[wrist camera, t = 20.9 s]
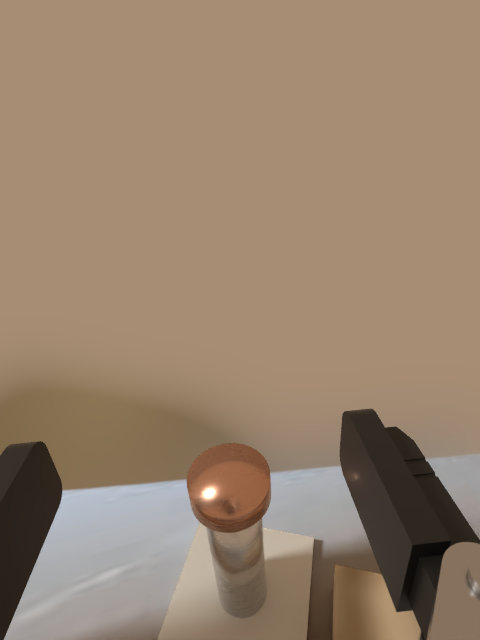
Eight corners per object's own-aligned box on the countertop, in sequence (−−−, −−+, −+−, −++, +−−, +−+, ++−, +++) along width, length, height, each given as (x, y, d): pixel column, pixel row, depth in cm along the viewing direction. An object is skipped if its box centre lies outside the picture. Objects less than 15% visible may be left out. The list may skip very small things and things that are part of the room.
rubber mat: (154, 656, 30) (152, 651, 29) (202, 520, 40) (202, 515, 40) (302, 701, 27) (302, 697, 26) (313, 542, 37) (313, 537, 37)
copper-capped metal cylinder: (200, 619, 31) (173, 504, 24) (220, 549, 36) (203, 438, 29) (269, 638, 30) (261, 521, 23) (280, 562, 35) (276, 449, 28)
